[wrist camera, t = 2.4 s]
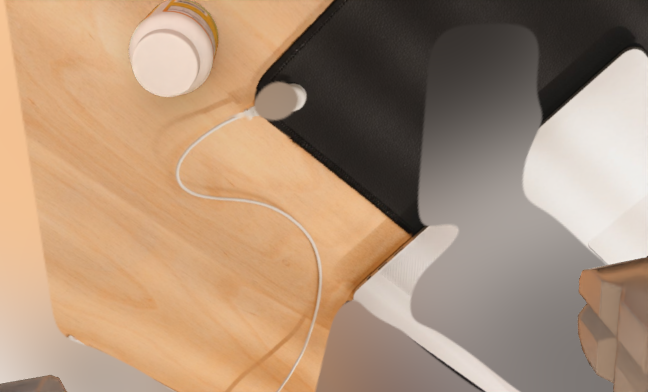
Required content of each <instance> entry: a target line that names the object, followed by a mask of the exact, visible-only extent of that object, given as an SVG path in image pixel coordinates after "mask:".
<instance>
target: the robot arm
mask: <svg viewBox="0 0 648 392" xmlns="http://www.w3.org/2000/svg"><path fill="white" fill-rule="evenodd" d="M579 293H580V295H581V296H582V297H583V298H584V299H585V301H586V302H587V304H586V305H585V307H584V308H583V309H582V311H581V312H580V313H579V315H578V334H579V338H580V342H581V346H582V350H583V352H584V354H585V356H586V358H587V360H588V362H589V364H590V365H591V367H592V368H593V370H594V371H595V373H596V374H597V375H598V376H600V377H602V378H604V379H606V380H608V381H610V382H612V383H614V387H613V392H648V256H647V257H646V258H640V259H635V260H630V261H625V262H620V263H615V264H610V265H606V266H601V267H596V268H591V269H586V270H583V271H582V273H581V276H580V278H579ZM0 392H67V391H66V390H65V388H64V386H63V384H62V382H61V380H60V379H59V378H58V377H55V376H52V375H48V376H42V377H36V378H31V379H25V380H20V381H14V382H8V383H2V384H0Z"/></svg>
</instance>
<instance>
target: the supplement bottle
mask: <svg viewBox="0 0 648 392" xmlns="http://www.w3.org/2000/svg"><path fill="white" fill-rule="evenodd" d="M217 47H218V30H217V26H216V24H215V21H214V19H213V18H212V16H211V15H210V14H209V12H208V11H207V10H206V9H205V8H203V7H202V6H201V5H199V4H198V3H196V2H194V1H191V0H167V1H165V2H162V3H161V4H159V5H158V6H157V7H155V8H154V9H153V10H152V11H151V13H150V14H149V15H148V16H147V17H146V18H145V19H144V20H143V21H142V22H141V23H140V24H139V25H138V26H137V28H136V29H135V31H134V32H133V34H132V36H131V39H130V43H129V59H130V63H131V66H132V70H133V73H134V76H135V78H136V79H137V81H138V82H139V84H140V85H141V86H142V87H143V88H144V89H146V90H147V91H149V92H150V93H152V94H154V95H157V96H161V97H174V96H178V95H183V94H187V93H190V92H192V91H194V90H195V89H197V88H198V87H200V86H201V85H202V84H203V83H204V82H205V80H206V79H207V77H208V76H209V74H210V71H211V69H212V65H213V61H214V58H215V54H216V51H217Z"/></svg>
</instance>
